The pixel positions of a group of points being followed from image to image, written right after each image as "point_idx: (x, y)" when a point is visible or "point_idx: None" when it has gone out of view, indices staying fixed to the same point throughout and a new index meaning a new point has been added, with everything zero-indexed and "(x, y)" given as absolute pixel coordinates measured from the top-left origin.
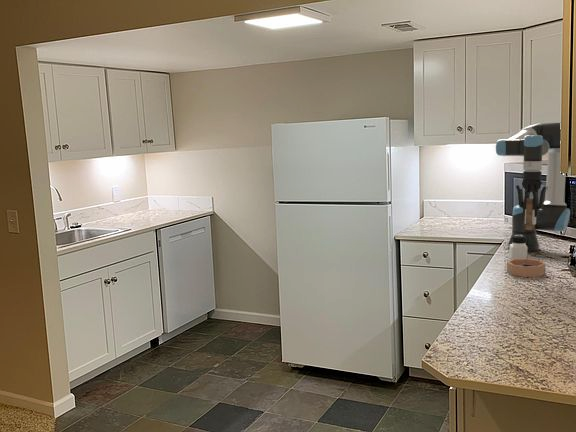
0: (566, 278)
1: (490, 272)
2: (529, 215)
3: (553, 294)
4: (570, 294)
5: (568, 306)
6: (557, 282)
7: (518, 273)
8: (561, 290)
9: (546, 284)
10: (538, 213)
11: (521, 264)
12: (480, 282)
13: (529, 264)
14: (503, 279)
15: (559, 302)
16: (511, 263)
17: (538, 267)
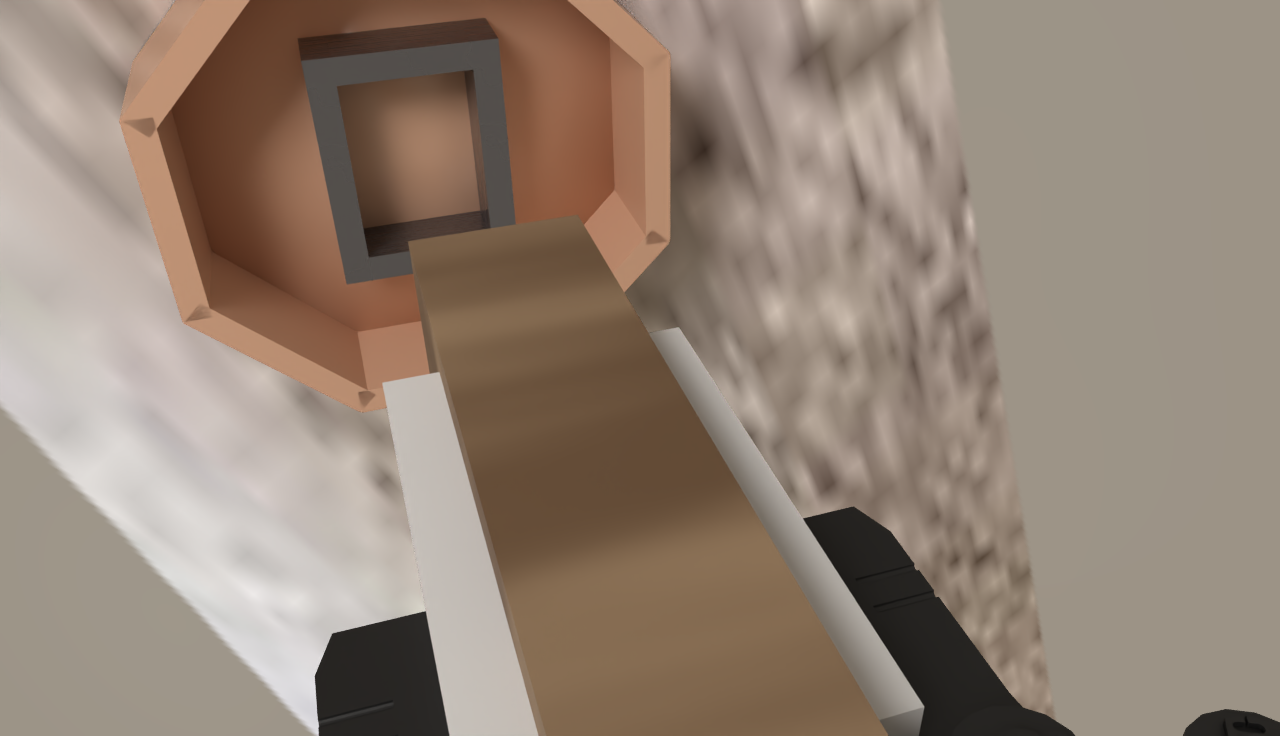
0: (893, 43)
1: (81, 423)
2: None
3: (906, 544)
4: (1007, 465)
5: (1027, 647)
6: (852, 253)
7: None
8: (934, 431)
9: (787, 378)
10: (932, 592)
11: (320, 135)
12: (303, 715)
13: (409, 53)
14: (394, 522)
15: (972, 633)
16: (303, 362)
17: (652, 250)
